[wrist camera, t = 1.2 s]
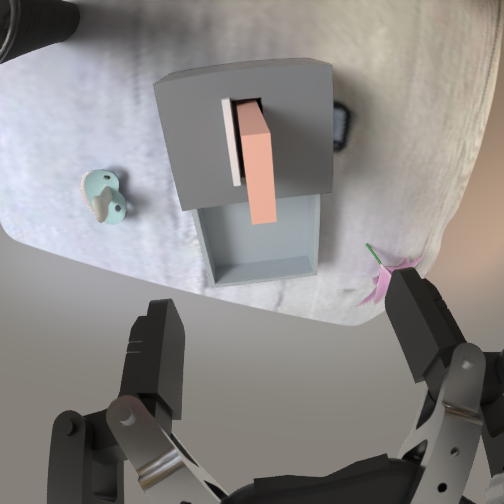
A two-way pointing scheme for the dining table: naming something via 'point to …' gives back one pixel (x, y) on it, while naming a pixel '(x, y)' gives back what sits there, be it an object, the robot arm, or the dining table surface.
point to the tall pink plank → (257, 161)
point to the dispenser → (228, 132)
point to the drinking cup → (34, 25)
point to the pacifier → (103, 196)
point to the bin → (259, 242)
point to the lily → (385, 279)
